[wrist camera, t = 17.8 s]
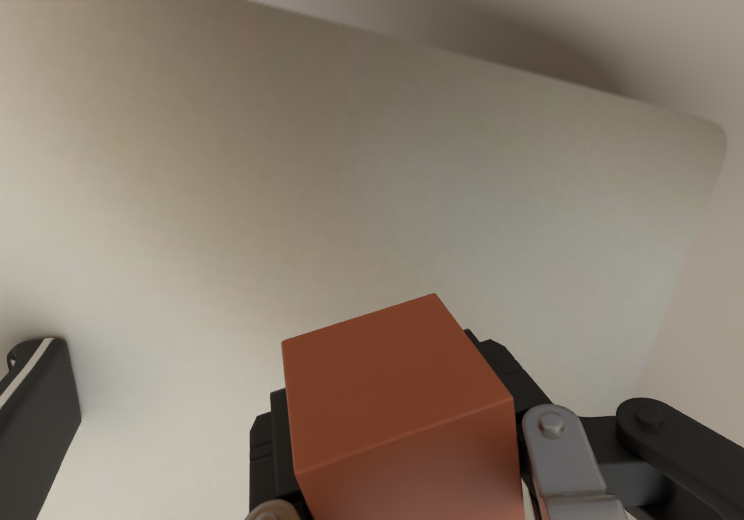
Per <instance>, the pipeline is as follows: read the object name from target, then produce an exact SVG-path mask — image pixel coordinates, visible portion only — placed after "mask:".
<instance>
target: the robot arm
mask: <svg viewBox="0 0 744 520" xmlns="http://www.w3.org/2000/svg"><path fill="white" fill-rule="evenodd" d="M463 331H464V332H465V334H466V335H467V336H468V338H469V339H470V340H471V342H472V343H473V344H474V346H475V347H476V348H477V350H478V351H479V352H480V354H481V355H482V356H483V358H484V359H485V360H486V362H487V363H488V364H489V366H490V367H491V368H492V370H493V371H494V372H495V374H496V375H497V376H498V378H499V379H500V380H501V382H502V383H503V384H504V386H505V387H506V388H507V390H508V391H509V392H510V394H511V395H512V396H513V401H514V411H515V421H516V431H517V441H518V451H519V461H520V472H521V478H522V479H523V481H524V483H525V484H526V486H527V487H528V496H529V502H530V506H531V510H532V515H533V519H534V520H628V517H627V515H626V513H625V510H626V511H627V512H628V513H630V514H631V515H632V516H634V517H635V518H636V519H637V520H744V448H743V447H741V446H739V445H737V444H736V443H734V442H732V441H730V440H729V439H726V438H725V437H723V436H722V435H720V434H718V433H716V432H715V431H713V430H711V429H709V428H708V427H706V426H704V425H702V424H701V423H699V422H697V421H695V420H693V419H692V418H690V417H688V416H686V415H685V414H683V413H681V412H680V411H678V410H676V409H674V408H673V407H671V406H669V405H667V404H665V403H663V402H661V401H658V400H655V399H650V398H632V399H629V400H626V401H624V402H623V403H621V404H620V405H619V407H618V408H617V411H616V416H604V417H580V416H577V415H576V414H575V413H573V412H572V411H571V410H569V409H567V408H565V407H563V406H560V405H555V404H553V403H552V402H551V401H550V399H549V398H548V397H547V396H546V395H545V394H544V392H543V391H542V390H541V389H540V388H539V386H538V385H537V384H536V383H535V382H534V381H533V379H532V378H531V377H530V376H529V375H528V373H527V372H526V371H525V370H524V369H522V366H521V365H520V364H519V363H518V362H517V360H515V359H514V357H513V356H512V355H511V353H510V352H509V351H508V350H507V349H506V347H504V346H503V345H501V344H499V343H497V342H495V341H493V340H491V339H489V340H486V341H483V342H479V341H478V339H477V338H476V337H475V336H474V334H473V333H472V332H471V331H470V330H469V329H465V330H463ZM270 401H271V412H268V413H265V414H262V415H259V416H257V417H256V419H255V422H254V424H253V426H252V428H251V430H250V497H249V514H248V515H247V517H246V518H245V520H314V519H313V517H312V514H311V512H310V510H309V507H308V505H307V503H306V500H305V498H304V496H303V493H302V491H301V489H300V486H299V484H298V482H297V479H296V477H295V474H294V467H293V457H292V447H291V437H290V427H289V416H288V406H287V396H286V388H283V389H280V390H277V391H274V392H271V393H270ZM624 509H625V510H624Z"/></svg>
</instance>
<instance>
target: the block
mask: <svg viewBox="0 0 744 520" xmlns="http://www.w3.org/2000/svg"><path fill="white" fill-rule="evenodd" d="M281 346H282V356H283V366H284V376H285V386H286V396H287V406H288V416H289V427H290V437H291V447H292V457H293V467H294V474H295V477H296V479H297V482H298V484H299V486H300V489H301V491H302V493H303V496H304V498H305V500H306V503H307V505H308V507H309V510H310V512H311V514H312V517H313V519H314V520H525V512H524V502H523V492H522V482H521V472H520V461H519V451H518V441H517V431H516V421H515V411H514V401H513V396H512V395H511V394H510V392H509V391H508V390H507V388H506V387H505V386H504V384H503V383H502V382H501V380H500V379H499V378H498V376H497V375H496V374H495V372H494V371H493V370H492V368H491V367H490V366H489V364H488V363H487V362H486V360H485V359H484V358H483V356H482V355H481V354H480V352H479V351H478V350H477V348H476V347H475V346H474V344H473V343H472V342H471V340H470V339H469V338H468V336H467V335H466V334H465V332H464V331H463V330H462V328H461V327H460V326H459V324H458V323H457V322H456V320H455V319H454V318H453V316H452V315H451V314H450V312H449V311H448V310H447V308H446V307H445V306H444V304H443V303H442V301H441V300H440V299H439V297H438V296H437V295H436V294H435V293H433V294H429V295H426V296H423V297H420V298H417V299H414V300H410V301H407V302H404V303H401V304H398V305H395V306H391V307H388V308H385V309H382V310H379V311H375V312H372V313H369V314H366V315H363V316H360V317H356V318H353V319H350V320H347V321H344V322H341V323H337V324H334V325H331V326H328V327H325V328H322V329H318V330H315V331H312V332H309V333H306V334H302V335H299V336H296V337H293V338H290V339H287V340H284V341H282V343H281Z"/></svg>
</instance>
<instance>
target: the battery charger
mask: <svg viewBox="0 0 744 520" xmlns="http://www.w3.org/2000/svg"><path fill="white" fill-rule="evenodd" d="M7 364H8V368H9V372H8V374H7V375H6V376H5V377H4V378H3V379H2V380H1V381H0V520H36V519H37V517H38V515H39V513H40V510H41V508H42V506H43V504H44V502H45V500H46V497H47V495H48V493H49V491H50V488H51V486H52V484H53V482H54V479H55V477H56V475H57V473H58V470H59V468H60V466H61V463H62V461H63V459H64V456H65V454H66V452H67V450H68V448H69V446H70V444H71V442H72V440H73V437H74V435H75V433H76V431H77V429H78V427H79V425H80V423H81V414H80V408H79V403H78V397H77V392H76V387H75V382H74V377H73V372H72V367H71V363H70V358H69V353H68V349H67V344H66V342H65V341H64V340H62V339H54V338H45V339H44V340H32V341H28V342H23V343H20V344H18V345H16V346H15V347H13V348H12V349H11V350H10V352H9V353H8V355H7Z"/></svg>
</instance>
